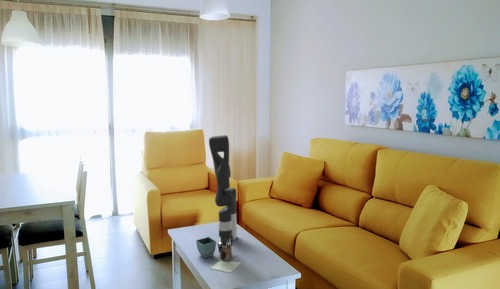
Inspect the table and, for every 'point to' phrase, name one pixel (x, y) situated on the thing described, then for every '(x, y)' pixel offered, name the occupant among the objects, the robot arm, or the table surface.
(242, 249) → the table surface
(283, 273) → the table surface
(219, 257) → the tile
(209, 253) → the flower pot
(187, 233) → the table surface
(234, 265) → the coaster
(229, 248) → the walnut block
